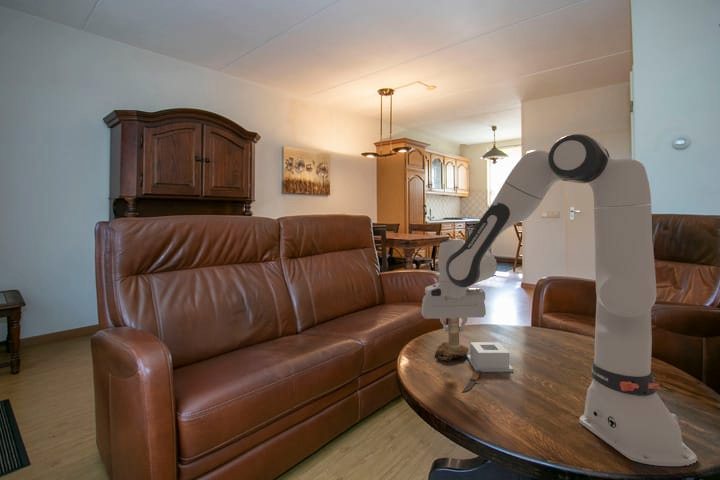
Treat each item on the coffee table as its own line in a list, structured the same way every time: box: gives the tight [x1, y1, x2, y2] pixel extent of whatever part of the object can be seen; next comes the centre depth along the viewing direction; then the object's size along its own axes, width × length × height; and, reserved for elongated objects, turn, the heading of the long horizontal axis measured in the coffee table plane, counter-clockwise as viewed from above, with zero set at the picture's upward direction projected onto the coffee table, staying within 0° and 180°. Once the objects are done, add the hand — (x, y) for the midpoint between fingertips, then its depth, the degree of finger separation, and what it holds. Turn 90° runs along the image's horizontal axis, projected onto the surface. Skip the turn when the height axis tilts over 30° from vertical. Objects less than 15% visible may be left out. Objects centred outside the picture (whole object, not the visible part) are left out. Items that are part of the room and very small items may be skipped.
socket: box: [466, 341, 514, 373], centre depth 125 cm, size 12×12×6 cm
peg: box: [447, 318, 460, 351], centre depth 119 cm, size 3×3×12 cm
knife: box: [461, 370, 483, 393], centre depth 112 cm, size 17×1×3 cm
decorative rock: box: [435, 341, 470, 362], centre depth 134 cm, size 11×4×15 cm
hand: (453, 331), depth 119 cm, fingers closed on peg, 3 cm apart
